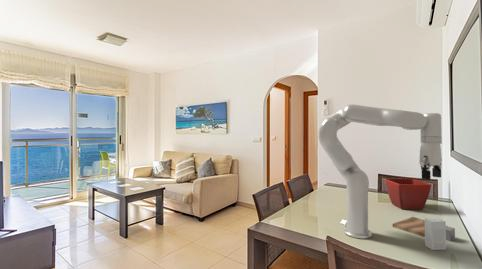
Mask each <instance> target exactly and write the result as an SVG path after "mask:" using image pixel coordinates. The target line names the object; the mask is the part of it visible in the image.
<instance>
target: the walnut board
mask: <svg viewBox="0 0 482 269" xmlns="http://www.w3.org/2000/svg"><path fill="white" fill-rule="evenodd" d="M392 227H393V228H396V229H399V230H401V231H404V232H407V233H411V234H414V235H418V236H420V237H422V238H423V237H424V238H425V219H424V218H423V219H422V218H419V217H415V216H412V217H408V218H406V219H403V220H399V221H396V222H394V223H392Z"/></svg>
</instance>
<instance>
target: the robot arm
mask: <svg viewBox="0 0 482 269" xmlns="http://www.w3.org/2000/svg"><path fill="white" fill-rule="evenodd" d="M350 123H357V124H364V125H368V126H369V125H371V126H379V127H397V128H402V129H404V130H407V131H413V130H415V131H416V130H418V131H419V130H420V148H419V162H418V163H419V166H420V170H421V179H422V180H427V181H429V180H431V175H432V177H434V178H442V164H443V163H442V162H443V159H442V148H441V146H442V145H441V144H443V142H442V140H443V138H442V137H443V136H442V135H443V134H442V132H443V130H442V114H440V113H437V112H434V113H433V112H430V113H429V112H428V113H421V112H418V111H417V112H416V111H409V110H402V109H390V108H382V107H373V106H366V105H360V104H347V105H345V106H344V107H343V108H341V109H340V110H338V111H337V112H335V113H334V114H331V115H330V116H328V117H326V118H324V119H323V120H322V122H321V124H320V127H319V130H318V141H319V143H320V145H321V147H322V149H323V150H324V151H325V153H326V154H327V156H328V157H329V159H330V160H331V162H332V164H333V166H334V167H335V168H336V170H337V171H338V172H339V174H340V175H341V176H342V178H343V179H344V180H345V182H346V194H345V198H346V199H345V200H346V219H342V220H341V222H340V225H343V226H344V228H343V232H344V234H345V235H347V236H349V237H351V238H356V239H363V240H365V239H369V238H371V237H373V232H372V231H371V230H370V229H369V186H370V182H369V177H368V175H367V173H366V172H365V171H363V169H361V168H360V166H359V165H358V164H357V163H356V162H355V160H354V159H353V156H352V154H351V153H350V152H348V150H347V149H346V148H345V147H344V145H343V143H342V142H341V141H340V139H339V138H338V134H337V133H338V131H339V130H340V129H343V128H344V127H346V126H348V125H349V124H350ZM431 167H432V169H431ZM430 169H431V170H432V174H431V170H430Z"/></svg>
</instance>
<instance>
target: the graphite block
mask: <svg viewBox="0 0 482 269" xmlns="http://www.w3.org/2000/svg"><path fill="white" fill-rule="evenodd" d="M455 230H456V228H455V227H451V226H448V225H446V242H452V241H454V240H456V231H455Z"/></svg>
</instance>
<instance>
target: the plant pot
mask: <svg viewBox="0 0 482 269" xmlns="http://www.w3.org/2000/svg"><path fill="white" fill-rule="evenodd" d="M384 182H385V187H386V191H387V193H388V197H389V200H390V202H391V204H392V205H394V206H396V208H398V209H401V210H417V211H419V210H423V209H424V208H425V205H426V203H427V202H428V199H429V195H430V191H431V187H432V184H430V183H428V182H426V181H425V182H424V181H422V180H419V179H418V180H417V179H413V178H384Z"/></svg>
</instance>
